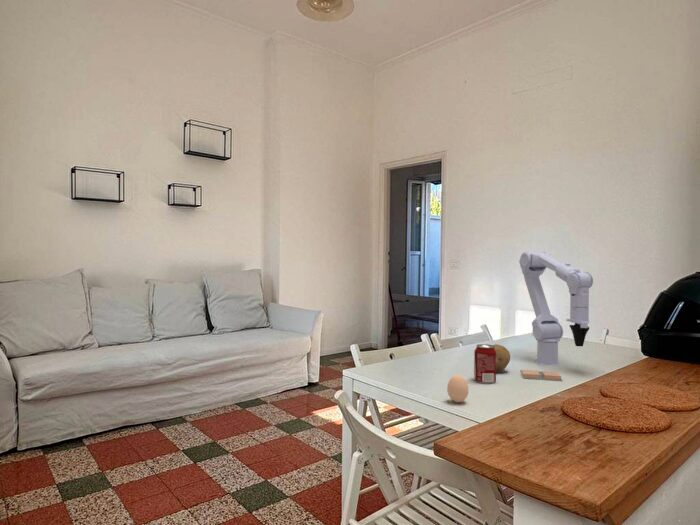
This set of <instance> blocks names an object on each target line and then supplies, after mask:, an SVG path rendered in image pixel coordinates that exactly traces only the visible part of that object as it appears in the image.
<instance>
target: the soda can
mask: <svg viewBox="0 0 700 525" xmlns="http://www.w3.org/2000/svg"><path fill="white" fill-rule="evenodd" d="M493 345H494V344H487V343H480V344H479V343H477V344H476V345H475V346H476V347H475V349H474V352H473V354H474V356H473V357H474V358H473V359H474V360H473V363H474V364H473V366H474V367H473V369H474V370H473V373H474V374H473V380H474V382H476V383H479V384H484V385H486V384H487V385H491V384H495V383H496V382H497V372H496V351H495V349H494V346H493Z"/></svg>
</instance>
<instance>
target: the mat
mask: <svg viewBox="0 0 700 525" xmlns="http://www.w3.org/2000/svg"><path fill="white" fill-rule="evenodd" d="M522 370H523V369H521V370H519V372H520V374H521V375H522ZM537 371H538V370H537ZM538 373H539V374H540V379H531V380H532V381H533V380H535V381H549V382H550V381H552V382H564V381H563V379H562V378H561V381H559V380H545V379H544V378H543V376H542V371H538ZM523 379H524V380H529V379H528V378H523Z"/></svg>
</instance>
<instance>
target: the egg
mask: <svg viewBox="0 0 700 525" xmlns="http://www.w3.org/2000/svg"><path fill="white" fill-rule="evenodd" d="M446 389H447V395H448V396H449V399H451V401H453V402H455V403H462V402H464V401H466V399H467V398H468V396H469V385H468V382H467V380H466V379H465V378H464V377H463V376H462V375H460V374H455V375H453V376H452V377H451V378H450V379H449V381H448V383H447V388H446Z"/></svg>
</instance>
